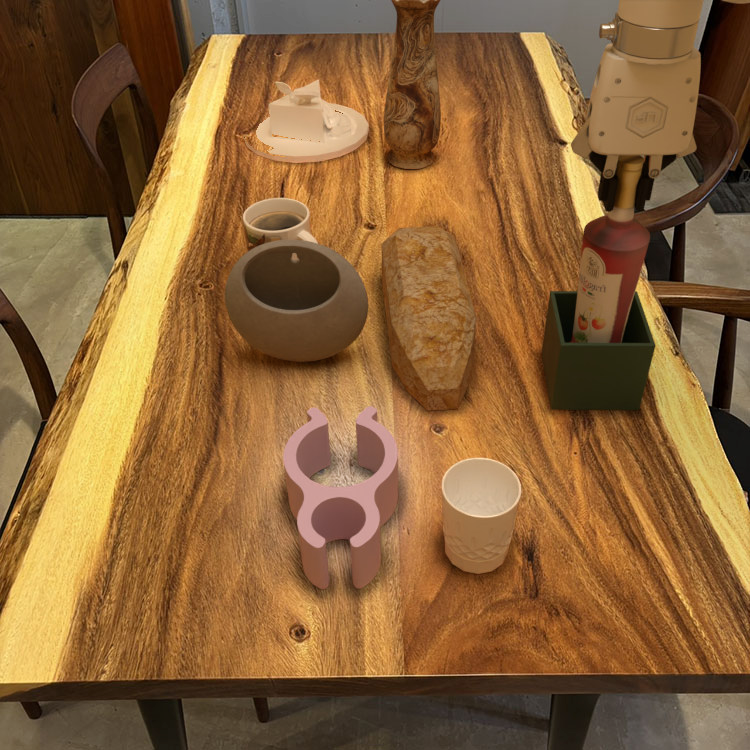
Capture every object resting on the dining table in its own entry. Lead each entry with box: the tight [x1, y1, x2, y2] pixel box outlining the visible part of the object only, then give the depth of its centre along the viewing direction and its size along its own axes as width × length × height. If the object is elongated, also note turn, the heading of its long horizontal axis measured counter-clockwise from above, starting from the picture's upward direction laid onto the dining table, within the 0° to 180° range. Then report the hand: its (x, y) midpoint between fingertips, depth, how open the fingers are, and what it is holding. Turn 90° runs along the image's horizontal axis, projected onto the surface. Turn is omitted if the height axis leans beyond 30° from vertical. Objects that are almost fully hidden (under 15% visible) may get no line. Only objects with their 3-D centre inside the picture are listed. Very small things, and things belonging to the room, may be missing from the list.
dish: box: [242, 79, 370, 164], centre depth 163 cm, size 25×25×11 cm
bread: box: [380, 225, 477, 411], centre depth 116 cm, size 36×11×10 cm, turn 4°
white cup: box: [441, 457, 522, 575], centre depth 86 cm, size 8×8×10 cm
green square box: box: [540, 290, 656, 411], centre depth 106 cm, size 11×11×10 cm
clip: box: [282, 405, 399, 590], centre depth 92 cm, size 20×12×7 cm, turn 0°
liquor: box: [570, 155, 651, 343], centre depth 98 cm, size 7×7×28 cm
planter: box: [224, 240, 369, 363], centre depth 108 cm, size 18×7×19 cm, turn 88°
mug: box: [242, 197, 319, 260], centre depth 125 cm, size 10×12×11 cm
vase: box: [383, 0, 442, 170], centre depth 148 cm, size 10×11×30 cm
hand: (622, 204), depth 92 cm, fingers closed on liquor, 2 cm apart
